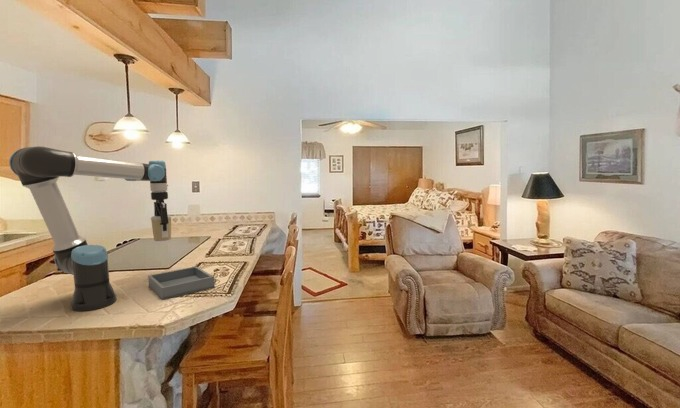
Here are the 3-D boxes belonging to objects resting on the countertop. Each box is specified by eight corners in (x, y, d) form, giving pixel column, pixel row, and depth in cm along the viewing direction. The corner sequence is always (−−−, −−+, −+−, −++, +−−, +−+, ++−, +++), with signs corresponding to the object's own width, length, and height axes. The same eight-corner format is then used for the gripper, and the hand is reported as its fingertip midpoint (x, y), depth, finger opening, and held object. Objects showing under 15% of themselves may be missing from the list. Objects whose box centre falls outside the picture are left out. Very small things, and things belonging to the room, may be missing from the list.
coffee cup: (176, 237, 187) (174, 215, 186) (166, 241, 178) (164, 217, 177) (159, 237, 188) (157, 215, 187) (148, 241, 179) (146, 217, 178)
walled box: (162, 299, 150) (161, 288, 149) (148, 286, 167) (147, 275, 167) (214, 287, 164) (213, 276, 163) (196, 275, 182) (196, 266, 181)
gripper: (173, 192, 175) (176, 237, 177) (161, 190, 191) (164, 232, 194) (156, 193, 170) (160, 240, 172) (145, 191, 186) (148, 234, 189)
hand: (162, 235), depth 183 cm, fingers closed on coffee cup, 9 cm apart
